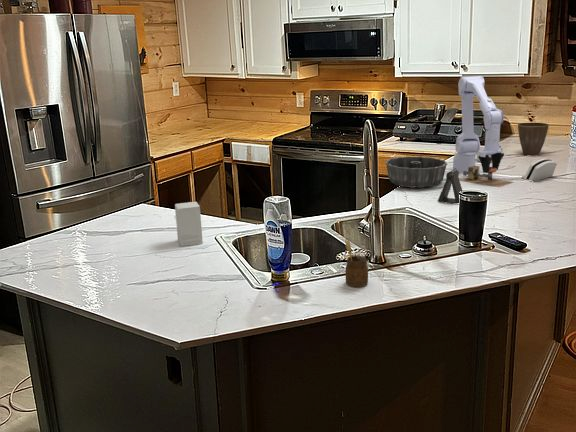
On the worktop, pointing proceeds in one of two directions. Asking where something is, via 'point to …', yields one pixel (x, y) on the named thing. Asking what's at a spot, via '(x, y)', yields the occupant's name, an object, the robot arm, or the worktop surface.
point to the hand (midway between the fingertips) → (490, 171)
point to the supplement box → (188, 223)
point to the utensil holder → (356, 269)
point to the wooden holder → (471, 173)
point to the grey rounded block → (540, 170)
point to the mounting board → (488, 182)
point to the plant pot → (532, 137)
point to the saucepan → (481, 151)
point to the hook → (489, 175)
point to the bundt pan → (416, 171)
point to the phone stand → (455, 184)
